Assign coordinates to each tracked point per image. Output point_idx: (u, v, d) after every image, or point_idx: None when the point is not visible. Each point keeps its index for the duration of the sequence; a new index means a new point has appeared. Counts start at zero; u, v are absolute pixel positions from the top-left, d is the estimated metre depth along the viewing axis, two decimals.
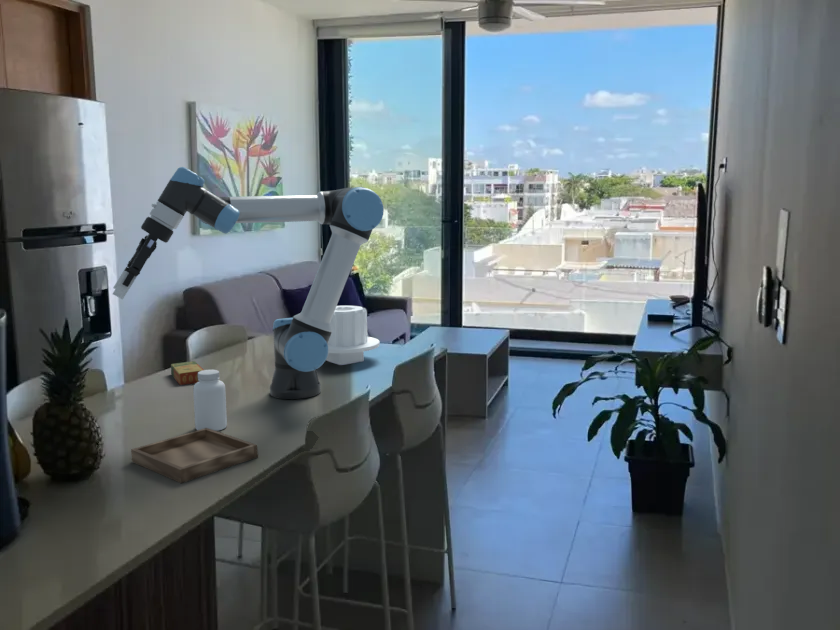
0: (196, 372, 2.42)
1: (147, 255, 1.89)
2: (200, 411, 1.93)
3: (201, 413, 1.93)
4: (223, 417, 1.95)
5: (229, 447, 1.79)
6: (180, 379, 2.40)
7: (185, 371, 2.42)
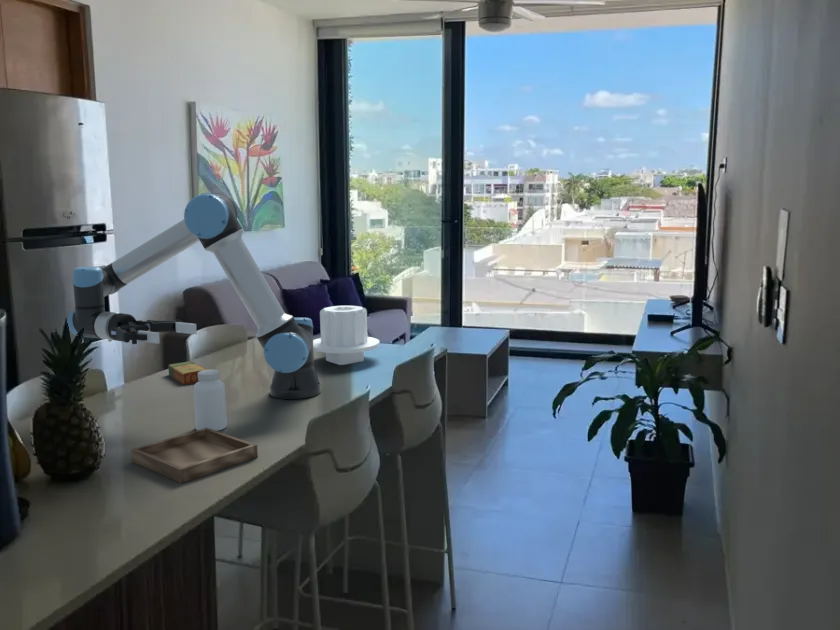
0: None
1: (118, 331, 1.95)
2: (200, 411, 1.93)
3: (201, 413, 1.93)
4: (223, 417, 1.95)
5: (229, 447, 1.79)
6: (184, 379, 2.41)
7: (188, 371, 2.42)
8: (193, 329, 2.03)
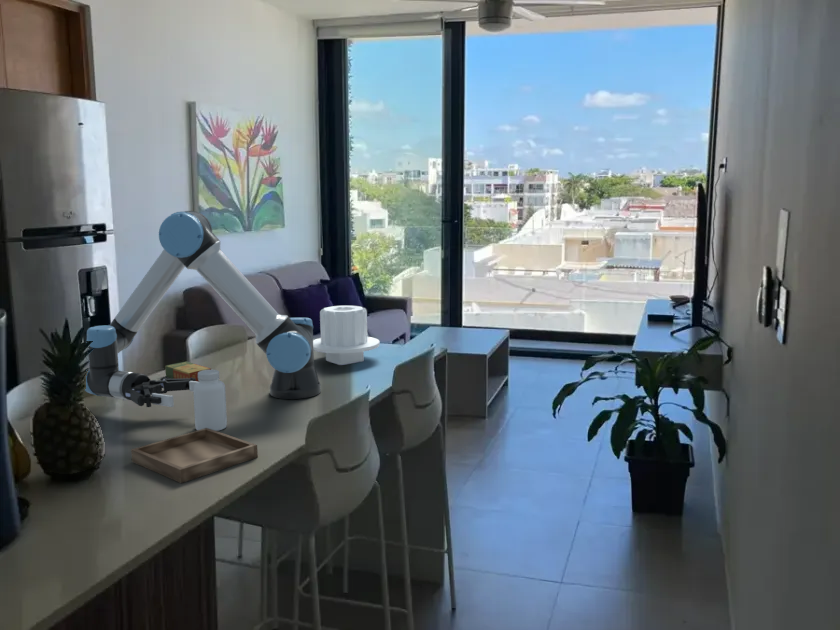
0: None
1: (132, 393, 1.96)
2: (200, 411, 1.93)
3: (201, 413, 1.93)
4: (223, 417, 1.95)
5: (229, 447, 1.79)
6: None
7: (193, 370, 2.43)
8: None
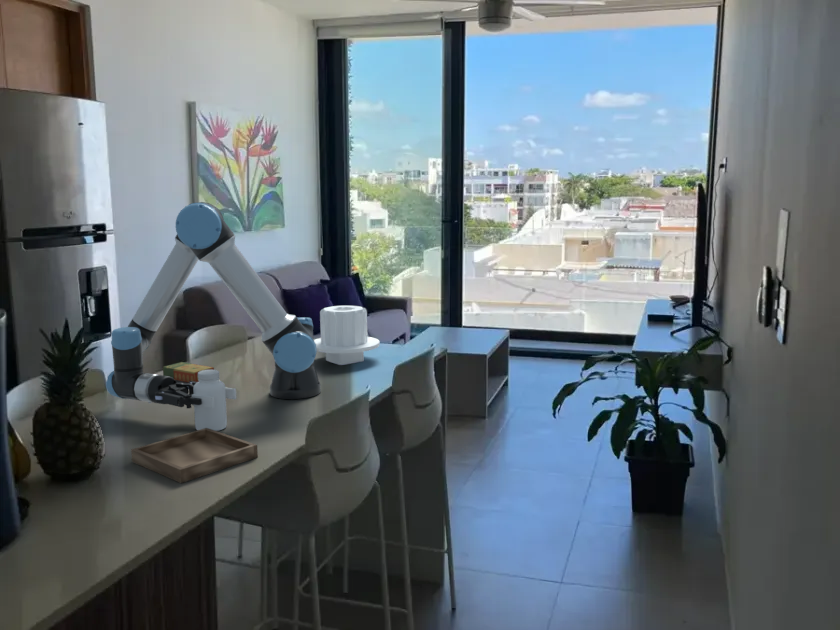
0: None
1: (166, 396, 1.93)
2: (200, 411, 1.93)
3: (201, 413, 1.93)
4: (223, 417, 1.95)
5: (229, 447, 1.79)
6: (195, 378, 2.42)
7: (197, 370, 2.44)
8: (233, 394, 1.97)
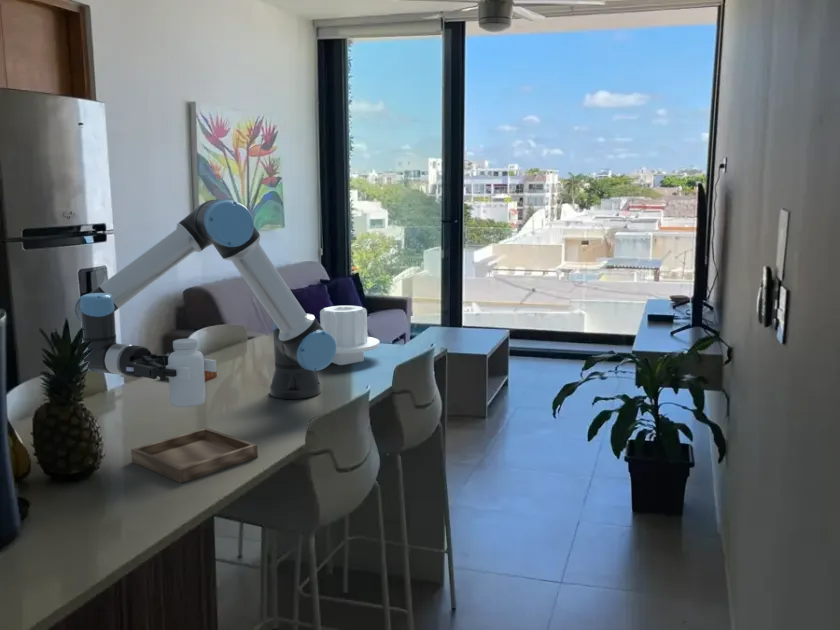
0: None
1: (138, 367, 1.74)
2: (175, 384, 1.73)
3: (176, 386, 1.73)
4: (201, 391, 1.76)
5: (229, 447, 1.79)
6: None
7: None
8: (212, 366, 1.78)
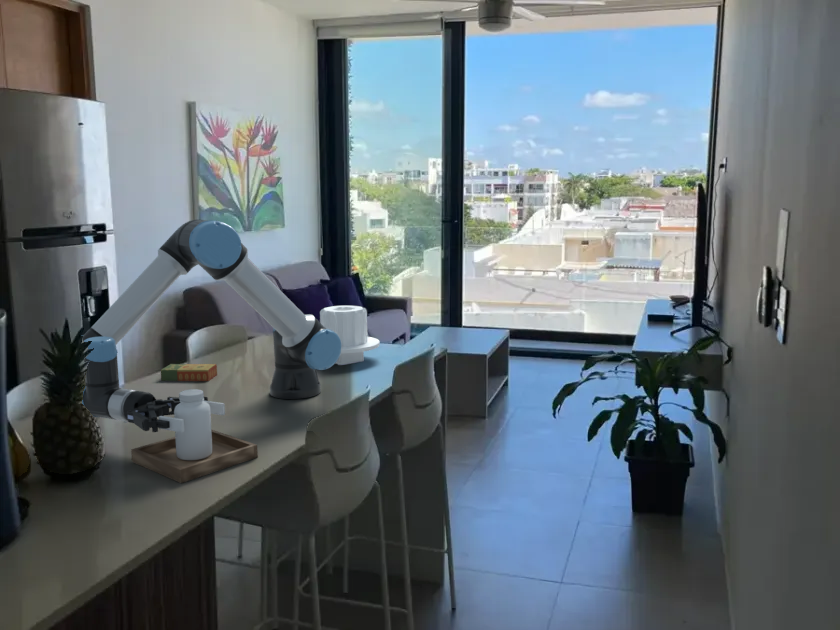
0: (213, 367, 2.50)
1: (135, 416, 1.69)
2: (182, 437, 1.70)
3: (183, 439, 1.70)
4: (208, 443, 1.72)
5: (229, 447, 1.79)
6: (208, 375, 2.45)
7: (206, 367, 2.47)
8: (221, 409, 1.77)
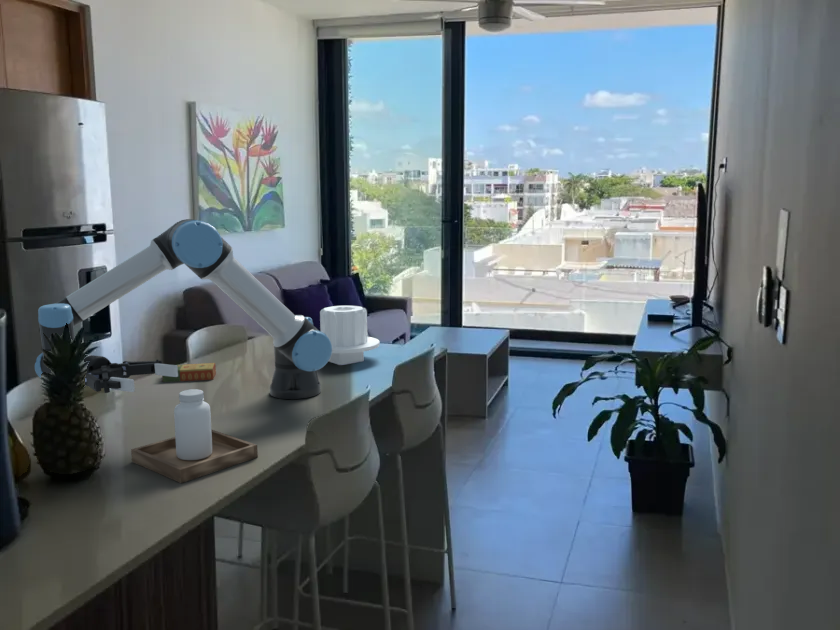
0: (214, 365, 2.52)
1: (88, 378, 1.74)
2: (182, 437, 1.70)
3: (183, 439, 1.70)
4: (208, 443, 1.72)
5: (229, 447, 1.79)
6: (213, 374, 2.47)
7: (209, 366, 2.48)
8: (174, 371, 1.81)
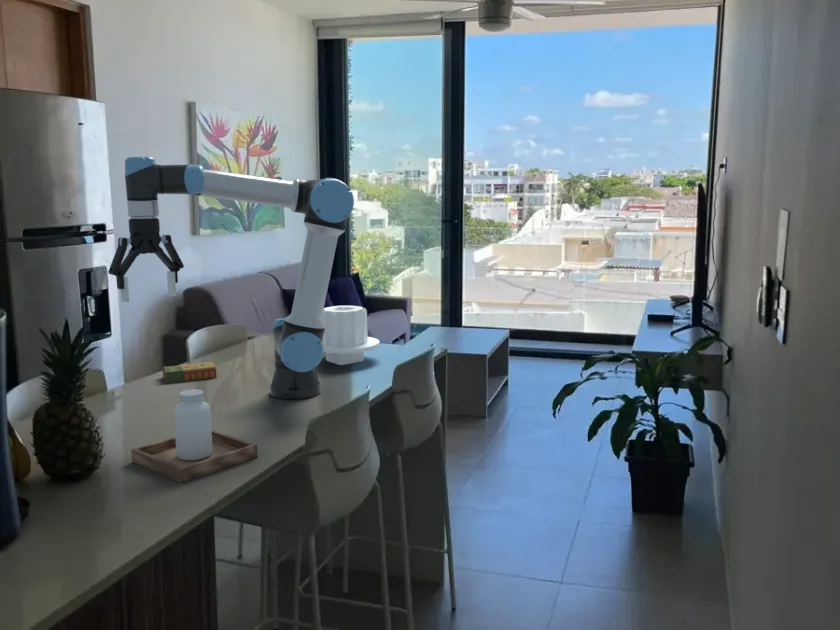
0: (213, 364, 2.54)
1: (119, 253, 1.92)
2: (182, 437, 1.70)
3: (183, 439, 1.70)
4: (208, 443, 1.72)
5: (229, 447, 1.79)
6: None
7: (210, 365, 2.50)
8: (171, 294, 2.06)
